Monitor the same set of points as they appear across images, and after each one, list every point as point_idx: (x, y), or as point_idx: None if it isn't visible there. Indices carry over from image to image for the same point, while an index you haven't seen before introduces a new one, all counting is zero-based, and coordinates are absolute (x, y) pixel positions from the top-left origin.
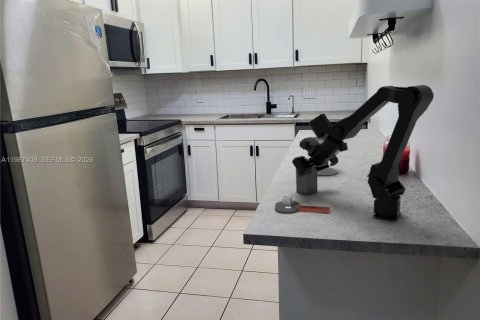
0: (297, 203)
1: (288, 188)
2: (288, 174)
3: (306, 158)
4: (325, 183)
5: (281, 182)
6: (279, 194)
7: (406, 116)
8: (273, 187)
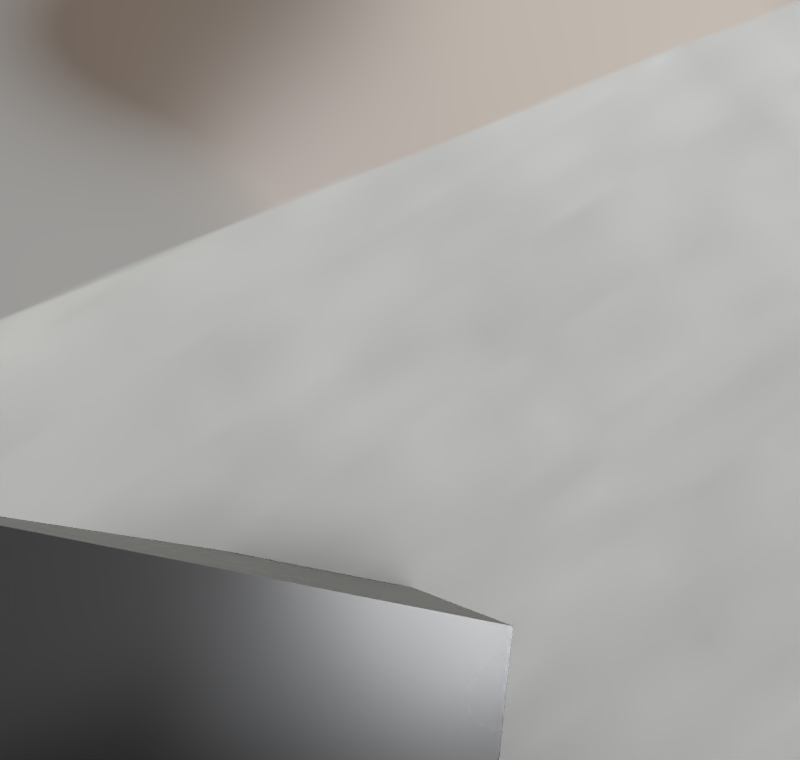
0: None
1: (324, 374)
2: (750, 110)
3: (506, 668)
4: (789, 677)
5: (471, 196)
6: (70, 411)
7: None
8: (272, 221)
